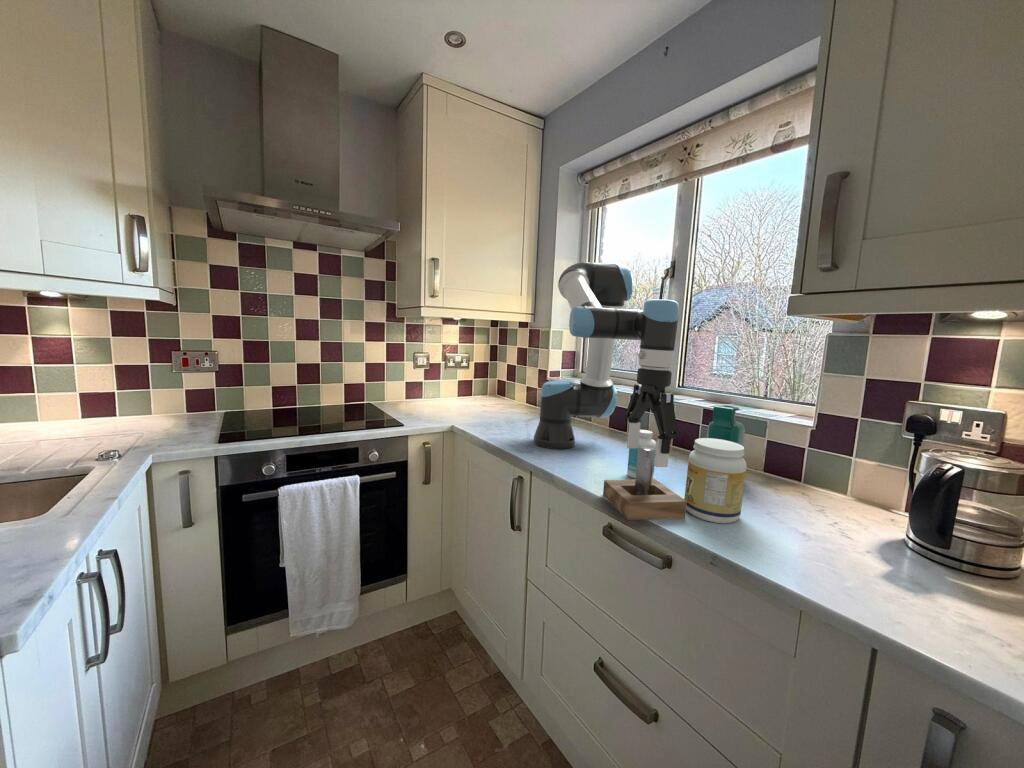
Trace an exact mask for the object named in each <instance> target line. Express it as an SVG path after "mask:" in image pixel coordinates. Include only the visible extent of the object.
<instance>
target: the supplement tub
mask: <svg viewBox="0 0 1024 768" xmlns="http://www.w3.org/2000/svg"><path fill="white" fill-rule="evenodd" d="M693 449H694V450H692V451H691V452H690V453H689V454H688V464H687V471H686V480H685V482H686V483H685V489H684V498H683V499H684V500H686V501H687V506H686V512H688V513H689V514H691V515H692V516H694V517H696V518H699V519H700V520H703V521H707V522H710V523H717V524H732V523H735V522H736V521H738V520H739V519H740V517H741V515H742V514H741V513H742V506H743V496H744V488H745V480H746V475H747V474H746V473H747V469H748V467H747V462H746V460H745V459H744V458H743V457H744V456H745V447H744V445H743V446H742V445H740V444H737V443H734V442H731V441H726V440H721V439H713V438H707V437H700V438H696V439H694V445H693Z"/></svg>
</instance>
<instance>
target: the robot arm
mask: <svg viewBox="0 0 1024 768" xmlns="http://www.w3.org/2000/svg"><path fill="white" fill-rule="evenodd" d="M557 282H558V283H557V284H558V285H557V287H558V290H559V293H560V295H561V296H562V297H563V298H564V299H565V300H567V303H568V305H569V308H570V313H569V321H568V322H569V323H568V328H569V334H570V335H571V336H573V337H580V338H583V339H589V340H588V341H589V342H588V343H589V344H588V350H587V351H588V352H587V358H586V360H587V361H586V366H585V367H586V368H585V374H584V376H583V377H581V378H580V382H579V384H576V383H575V381H574V380H572V379H557V380H555V379H554V380H551V381H550V380H549V381H546V382H544V383H543V384H542V385H541V391H540V392H541V393H540V410H539V420H538V421H539V422H538V425H537V427H536V430H535V432H534V435H533V443H534V444H535V445H536V446H539V447H541V448H546V449H554V450H555V449H556V450H565V449H572V448H574V447H575V444H576V438H575V434H574V429H573V425H572V421H573V419H572V417H582V418H597V419H598V418H608V417H610V416H611V415H612V414H613V413H614V411H615V408H616V405H617V401H618V397H617V396H618V390H617V388H616V387H615V386H614V382H613V381H612V379H611V378H610V377H611V370H612V363H613V356H614V347H615V342H616V340H626V341H627V340H628V341H639V342H640V344H639V353H638V355H637V356H638V365H639V367H638V368H637V374H636V383H635V384H634V385H633V390H632V391H633V392H632V394H631V397H630V399H629V403H628V404H627V408H626V412H625V413H624V416H625V418H627V421H628V432H627V444H626V448H627V449H629V448H638V445H639V435H640V430H641V422H642V419H641V418H642V417H643V415H644V414H645V412H646V410H647V409H650V411H651V412H652V413H653V416H654V419H655V423H656V428H657V430H658V436H656V437H657V440H656V444H657V446H656V456H655V466H654V468H668V463H669V455H670V449H671V443H672V440H674V439H678V438H679V432H678V430H679V429H678V424H677V417H676V412H675V407H674V401H675V399H674V398H675V396H674V393H672V392H670V393H669V392H666V388H668V387H670V386H671V384H672V376H673V375H672V374H673V371H672V370H671V369H672V368H673V367H674V359H675V345H676V337H677V331H678V330H677V329H678V322H679V308H680V306H679V303H678V302H677V301H676V300H672V299H647V300H646V301H645V302H644V303H643V304H644V305H643V309H626V308H625V302H628V301H630V300H631V298H632V296H633V290H634V278H633V273H632V270H631V269H630V267H629V266H628V265H625V264H619V263H616V262H615V263H608V262H607V263H605V262H589V261H583V262H582V261H580V262H577V263H574V264H572V265H570V266H568V267H567V268H566V269H564V270H563V271H562V273H561V274H560V277H559V279H558V281H557Z"/></svg>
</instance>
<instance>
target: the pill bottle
mask: <svg viewBox="0 0 1024 768" xmlns="http://www.w3.org/2000/svg"><path fill="white" fill-rule="evenodd" d="M653 435H654V434H653V431H652V430H647V429H640V435H639V445H638V448H639V447H647V448H652V449H654V450H655V454H654V464H653V475H652V479H654V476H655V475H654V474H655V456H656V447H657V441H656V440H654V439H652V438H653ZM638 448H628V456H627V457H628V461H627V471H626V473H627V476H629V477H630V478H631V479H635V477H636V465H637V454H638Z"/></svg>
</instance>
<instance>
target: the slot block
mask: <svg viewBox="0 0 1024 768" xmlns="http://www.w3.org/2000/svg"><path fill="white" fill-rule="evenodd" d="M634 488H635V479H604V480H603V490H602V491H603V492H602V496H603V497H604V498H605V499H606V500H607V501H608V502H609V503H610V504H611V505H612V506H613V507H614V508H615V509H616V510H617V511H618V512H619V513H620V514H621V515H622V516H623V517H624V518H625V519H626V520H627V521H640V520H647V521H648V520H669V519H671V520H672V519H686V514H687V510H686V506H687V501H686V500H684V498H683V497H681V496H680V495H678V494H677V492H674V491H672V489H670V488H669V487H667V486H666V485H664V484H663V483H661V482H660V481H658V480H657V479H656V478H655V479H654V478H652V486H651V495H634Z"/></svg>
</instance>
